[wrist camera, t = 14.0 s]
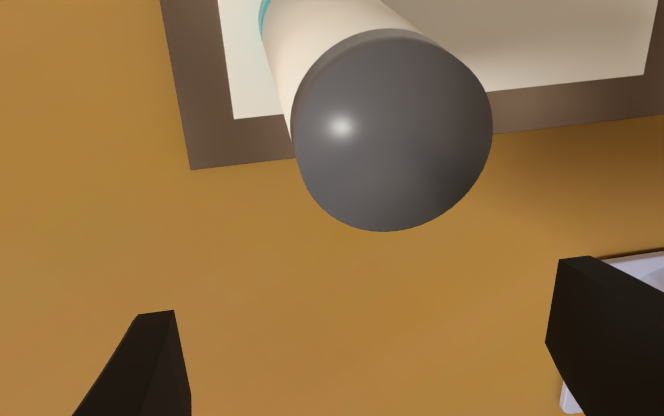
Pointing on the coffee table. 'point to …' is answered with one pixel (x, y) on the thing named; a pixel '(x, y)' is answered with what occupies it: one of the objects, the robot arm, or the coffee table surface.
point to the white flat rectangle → (474, 42)
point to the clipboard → (271, 131)
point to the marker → (375, 111)
